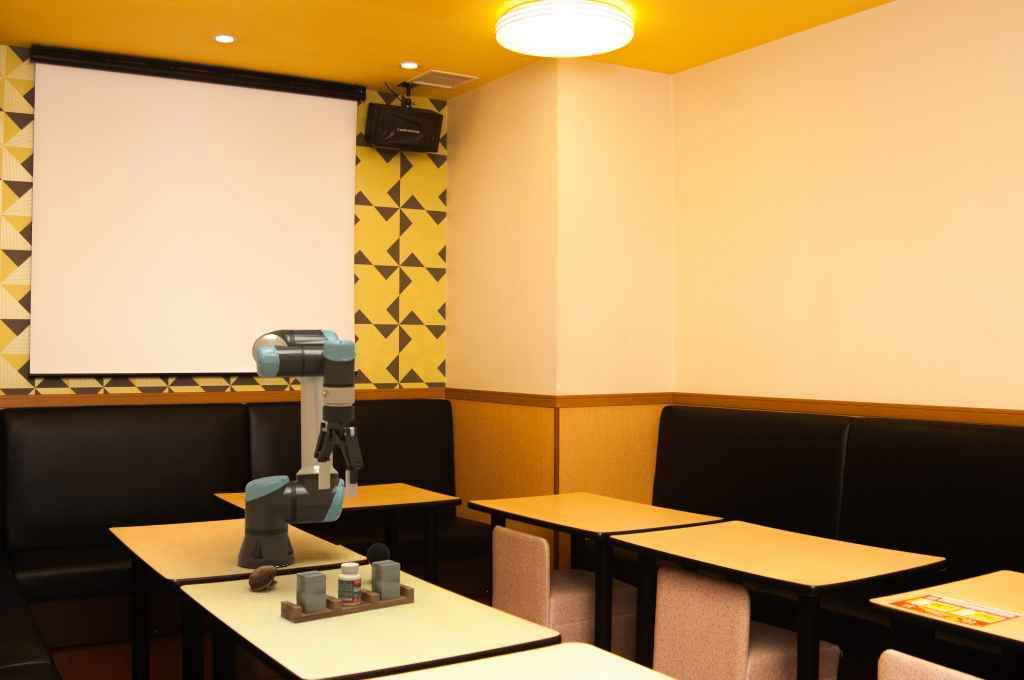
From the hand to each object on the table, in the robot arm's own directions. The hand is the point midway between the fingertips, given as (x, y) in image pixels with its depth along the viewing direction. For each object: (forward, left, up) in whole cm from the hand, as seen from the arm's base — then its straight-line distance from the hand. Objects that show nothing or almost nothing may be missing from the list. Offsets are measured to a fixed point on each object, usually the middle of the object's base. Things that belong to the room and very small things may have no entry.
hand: (337, 493), depth 241 cm
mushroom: (-16, -12, -25) cm, 32 cm away
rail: (+13, -4, -24) cm, 28 cm away
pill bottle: (+13, -4, -23) cm, 27 cm away
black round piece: (-5, +14, -25) cm, 29 cm away
